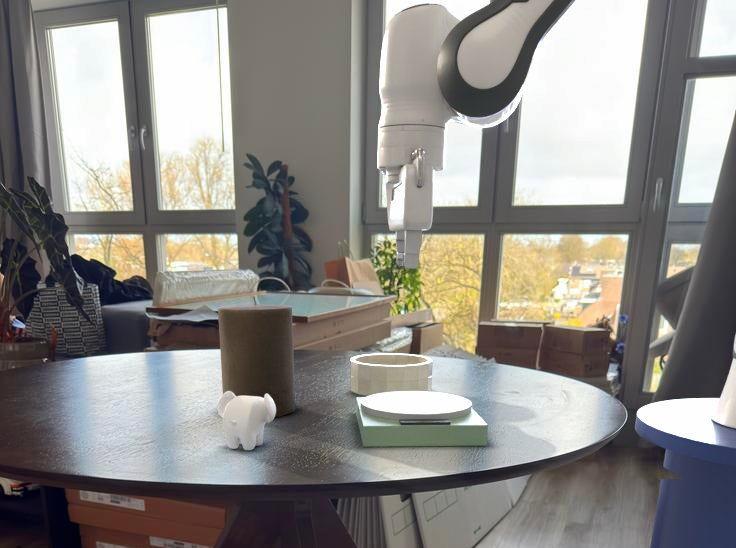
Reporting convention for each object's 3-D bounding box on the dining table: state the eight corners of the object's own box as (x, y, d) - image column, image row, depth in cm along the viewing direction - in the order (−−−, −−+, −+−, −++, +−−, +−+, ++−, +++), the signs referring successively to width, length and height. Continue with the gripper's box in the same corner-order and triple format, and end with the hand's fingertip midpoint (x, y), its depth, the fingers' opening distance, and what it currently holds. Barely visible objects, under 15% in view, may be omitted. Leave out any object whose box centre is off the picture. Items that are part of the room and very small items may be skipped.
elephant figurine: (289, 439, 84) (288, 388, 82) (259, 457, 77) (256, 402, 75) (237, 434, 86) (234, 384, 84) (203, 451, 79) (199, 397, 77)
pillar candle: (279, 421, 93) (275, 299, 87) (210, 415, 95) (202, 297, 90) (306, 405, 101) (303, 294, 96) (242, 401, 104) (236, 292, 99)
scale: (460, 414, 97) (461, 390, 95) (486, 445, 82) (488, 418, 80) (356, 414, 96) (356, 390, 95) (363, 446, 81) (363, 418, 80)
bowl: (424, 384, 116) (425, 353, 114) (436, 400, 105) (437, 365, 103) (349, 385, 116) (349, 353, 114) (352, 401, 104) (352, 366, 103)
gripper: (448, 145, 84) (441, 270, 89) (424, 163, 104) (420, 265, 108) (395, 144, 84) (390, 269, 89) (381, 162, 103) (378, 264, 108)
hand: (406, 267), depth 99 cm, fingers open, 8 cm apart
